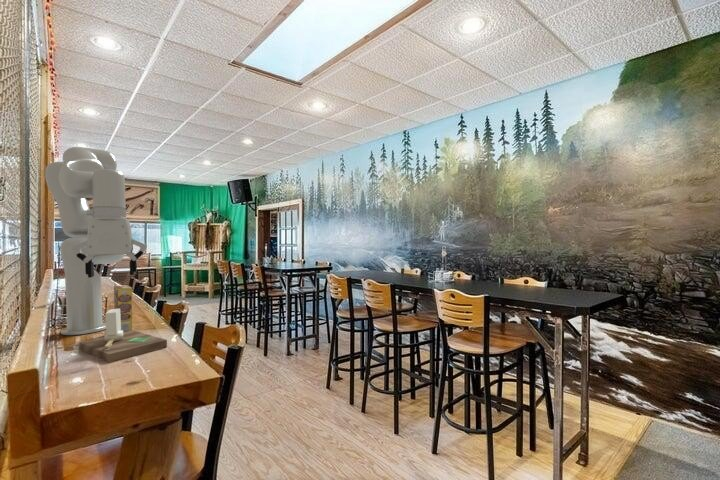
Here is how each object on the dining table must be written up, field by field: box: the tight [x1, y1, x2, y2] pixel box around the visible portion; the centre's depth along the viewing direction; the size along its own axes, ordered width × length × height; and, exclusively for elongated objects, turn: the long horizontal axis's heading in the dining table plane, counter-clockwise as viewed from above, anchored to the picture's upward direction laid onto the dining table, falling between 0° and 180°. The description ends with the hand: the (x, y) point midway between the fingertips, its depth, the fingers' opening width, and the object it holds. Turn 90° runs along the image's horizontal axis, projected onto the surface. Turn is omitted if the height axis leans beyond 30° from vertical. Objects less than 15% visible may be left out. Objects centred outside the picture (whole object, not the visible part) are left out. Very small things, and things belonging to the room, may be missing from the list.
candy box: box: [113, 284, 133, 333], centre depth 116 cm, size 9×4×15 cm, turn 39°
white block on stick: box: [103, 308, 123, 348], centre depth 98 cm, size 13×4×8 cm, turn 25°
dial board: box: [78, 330, 168, 363], centre depth 100 cm, size 20×14×2 cm
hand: (112, 275), depth 101 cm, fingers open, 9 cm apart
